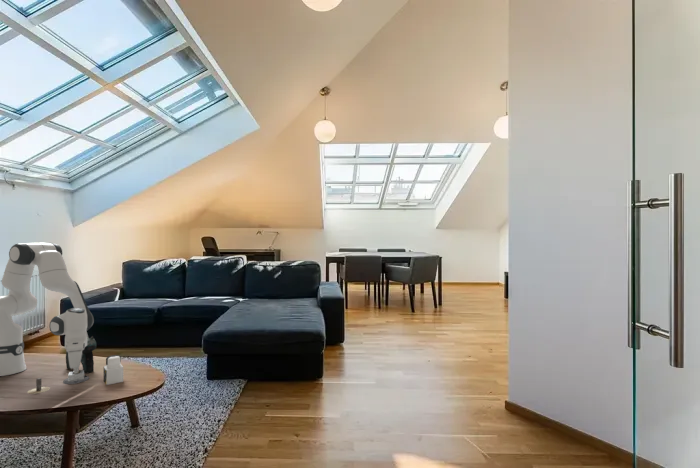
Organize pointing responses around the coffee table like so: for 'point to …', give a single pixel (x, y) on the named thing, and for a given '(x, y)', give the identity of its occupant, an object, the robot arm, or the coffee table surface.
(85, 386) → the coffee table surface
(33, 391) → the stand
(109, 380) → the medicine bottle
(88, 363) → the bull figurine
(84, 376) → the hub
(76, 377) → the square tunnel block
